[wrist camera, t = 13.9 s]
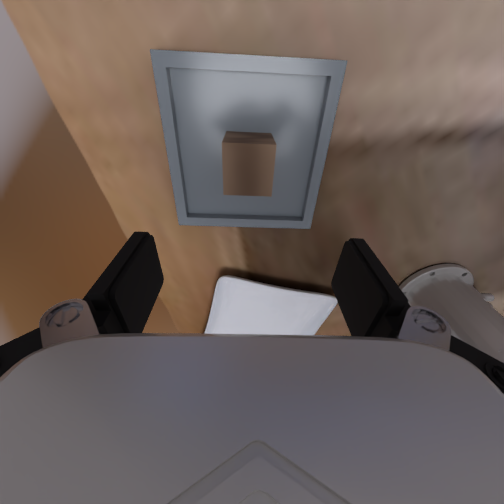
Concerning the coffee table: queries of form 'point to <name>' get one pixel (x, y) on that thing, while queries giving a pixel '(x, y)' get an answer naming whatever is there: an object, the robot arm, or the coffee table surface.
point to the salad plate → (266, 309)
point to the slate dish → (246, 120)
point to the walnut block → (248, 163)
